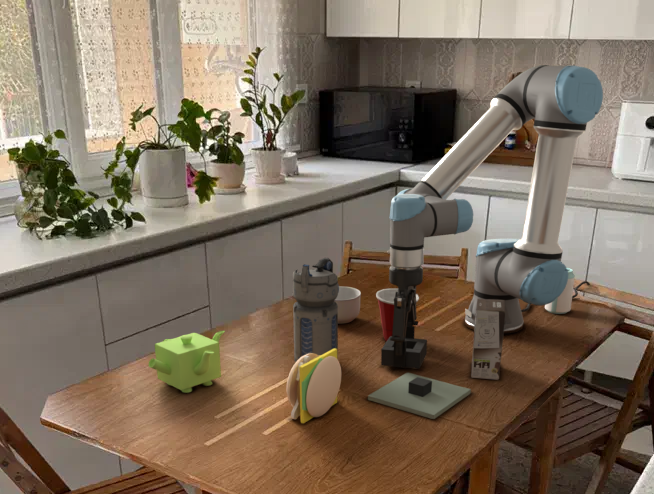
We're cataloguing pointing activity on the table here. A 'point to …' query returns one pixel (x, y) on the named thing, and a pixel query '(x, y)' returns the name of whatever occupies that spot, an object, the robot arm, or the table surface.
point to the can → (563, 297)
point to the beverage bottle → (315, 309)
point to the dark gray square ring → (414, 352)
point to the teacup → (348, 304)
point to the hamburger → (313, 385)
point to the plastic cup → (387, 310)
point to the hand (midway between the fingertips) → (403, 359)
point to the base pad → (419, 395)
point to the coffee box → (488, 338)
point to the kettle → (188, 360)
